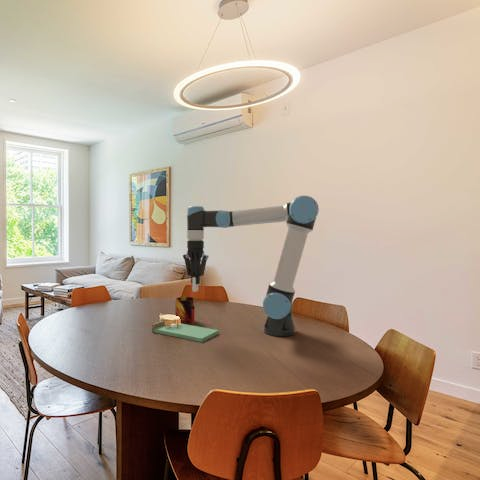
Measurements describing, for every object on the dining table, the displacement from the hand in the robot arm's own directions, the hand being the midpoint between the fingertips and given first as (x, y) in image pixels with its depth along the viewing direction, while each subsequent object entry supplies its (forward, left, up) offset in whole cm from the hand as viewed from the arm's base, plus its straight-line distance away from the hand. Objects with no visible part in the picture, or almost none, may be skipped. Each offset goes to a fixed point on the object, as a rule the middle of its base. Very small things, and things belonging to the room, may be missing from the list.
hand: (195, 291), depth 158 cm
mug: (+15, -14, -20) cm, 29 cm away
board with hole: (+4, +2, -20) cm, 20 cm away
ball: (+11, +1, -18) cm, 22 cm away
